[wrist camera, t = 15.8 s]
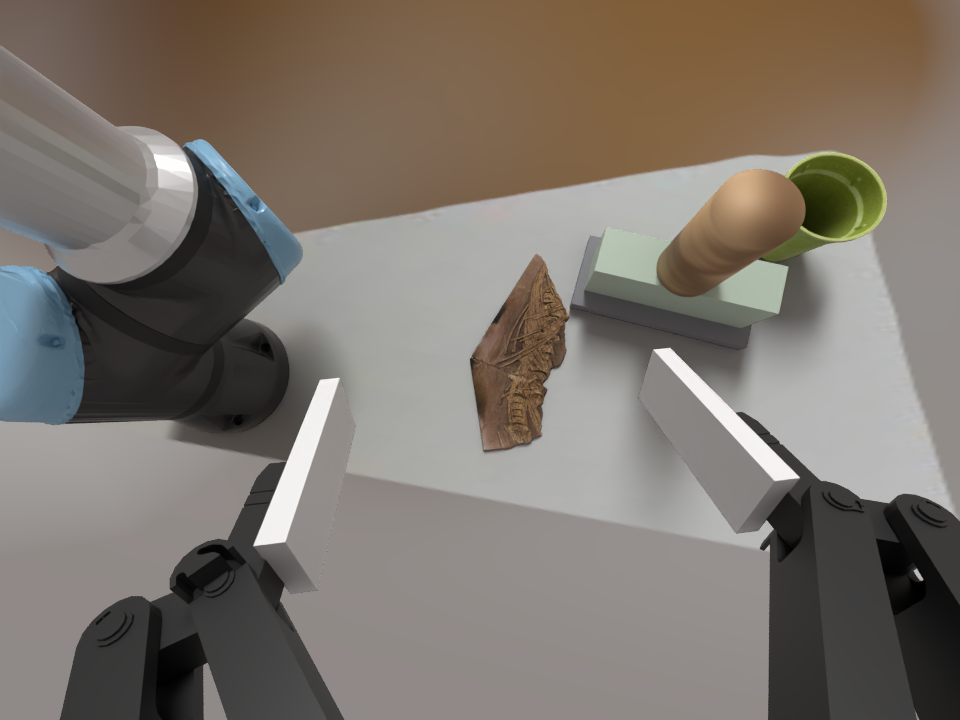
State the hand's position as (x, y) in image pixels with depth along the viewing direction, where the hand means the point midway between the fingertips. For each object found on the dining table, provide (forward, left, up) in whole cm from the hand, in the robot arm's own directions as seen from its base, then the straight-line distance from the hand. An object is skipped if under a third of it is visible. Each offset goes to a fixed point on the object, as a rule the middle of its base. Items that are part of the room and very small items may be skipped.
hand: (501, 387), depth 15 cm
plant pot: (+25, +28, -29) cm, 47 cm away
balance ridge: (+14, +18, -29) cm, 37 cm away
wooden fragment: (-1, +7, -29) cm, 30 cm away
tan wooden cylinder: (+13, +18, -21) cm, 31 cm away
